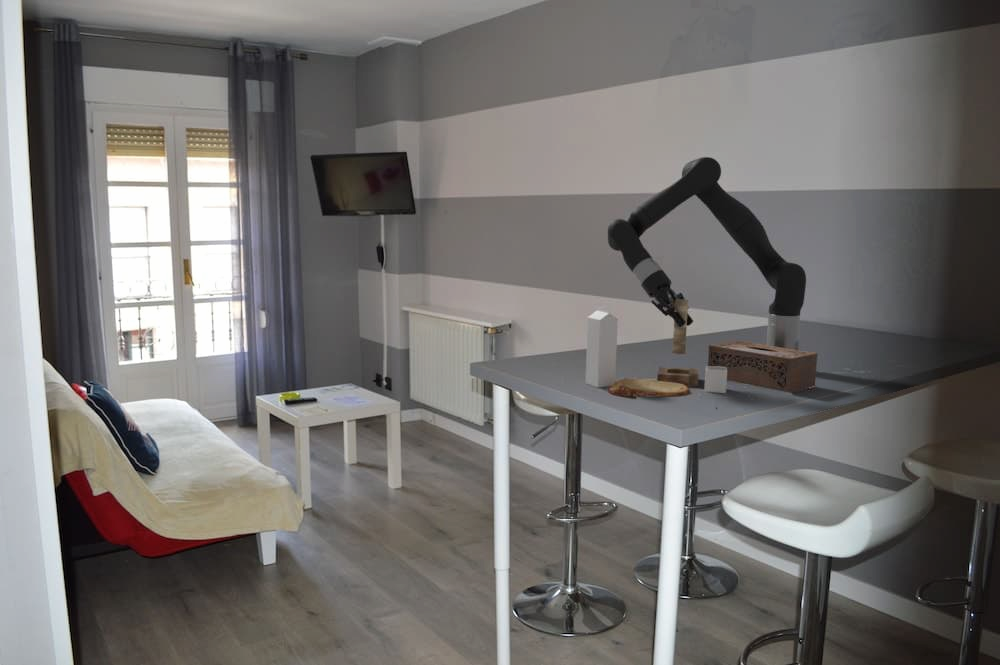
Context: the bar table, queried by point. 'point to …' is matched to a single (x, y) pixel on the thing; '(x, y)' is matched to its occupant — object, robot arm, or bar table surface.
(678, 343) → the dowel
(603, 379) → the milk
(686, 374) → the socket block
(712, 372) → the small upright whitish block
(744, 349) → the tissue box cover
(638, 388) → the bread slice
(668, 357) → the bar table surface
